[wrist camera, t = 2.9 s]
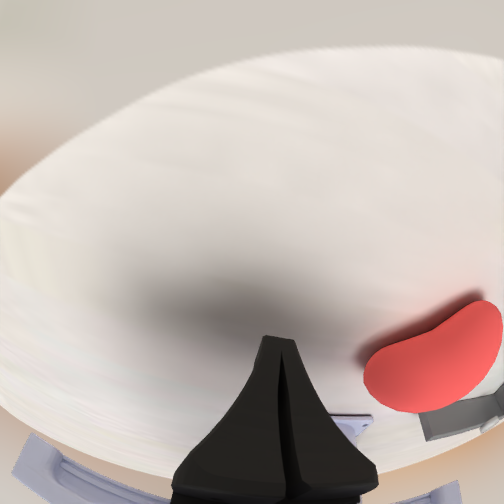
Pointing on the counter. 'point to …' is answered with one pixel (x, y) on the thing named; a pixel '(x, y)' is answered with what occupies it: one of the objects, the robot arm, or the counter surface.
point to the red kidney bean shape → (437, 361)
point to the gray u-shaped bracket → (463, 416)
